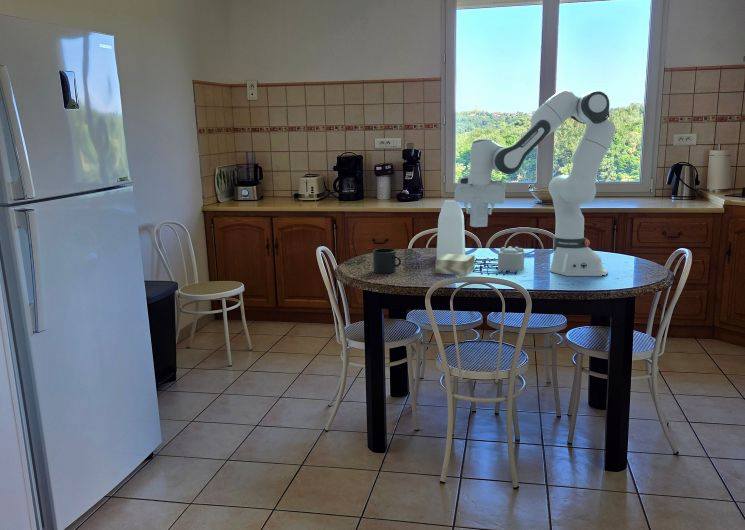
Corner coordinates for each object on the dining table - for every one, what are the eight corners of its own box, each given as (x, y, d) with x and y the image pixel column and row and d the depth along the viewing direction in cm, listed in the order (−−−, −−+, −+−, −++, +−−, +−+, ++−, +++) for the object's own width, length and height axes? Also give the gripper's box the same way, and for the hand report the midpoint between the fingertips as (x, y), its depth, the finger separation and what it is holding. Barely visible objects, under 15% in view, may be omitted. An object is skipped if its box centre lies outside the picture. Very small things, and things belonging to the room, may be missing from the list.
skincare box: (482, 225, 269) (483, 196, 266) (487, 226, 265) (488, 197, 262) (469, 225, 267) (470, 196, 264) (474, 227, 263) (475, 197, 260)
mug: (396, 275, 266) (396, 253, 264) (369, 273, 270) (369, 251, 268) (404, 270, 274) (404, 249, 272) (378, 268, 279) (378, 247, 277)
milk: (436, 258, 298) (436, 201, 293) (439, 254, 309) (440, 199, 304) (462, 259, 295) (463, 202, 290) (465, 254, 306) (466, 199, 301)
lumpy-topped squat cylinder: (495, 269, 273) (496, 249, 271) (502, 263, 285) (502, 244, 283) (521, 271, 269) (521, 250, 267) (526, 265, 281) (526, 245, 279)
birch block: (474, 269, 276) (474, 255, 274) (466, 275, 264) (466, 261, 263) (445, 267, 281) (445, 253, 280) (435, 273, 269) (435, 259, 268)
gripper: (507, 179, 262) (505, 214, 265) (456, 178, 268) (455, 212, 270) (505, 180, 256) (504, 215, 259) (454, 179, 262) (453, 213, 265)
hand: (478, 213), depth 265 cm, fingers closed on skincare box, 7 cm apart
